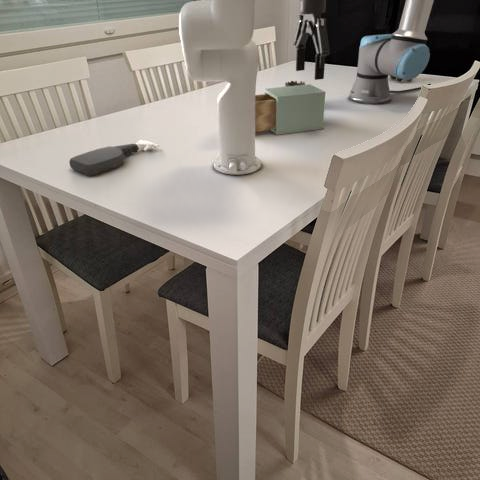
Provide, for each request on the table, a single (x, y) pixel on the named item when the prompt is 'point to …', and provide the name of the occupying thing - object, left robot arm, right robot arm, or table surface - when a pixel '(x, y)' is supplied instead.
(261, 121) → the drawer
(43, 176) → the table surface
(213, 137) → the table surface
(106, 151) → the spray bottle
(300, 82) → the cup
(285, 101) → the mint green storage box
